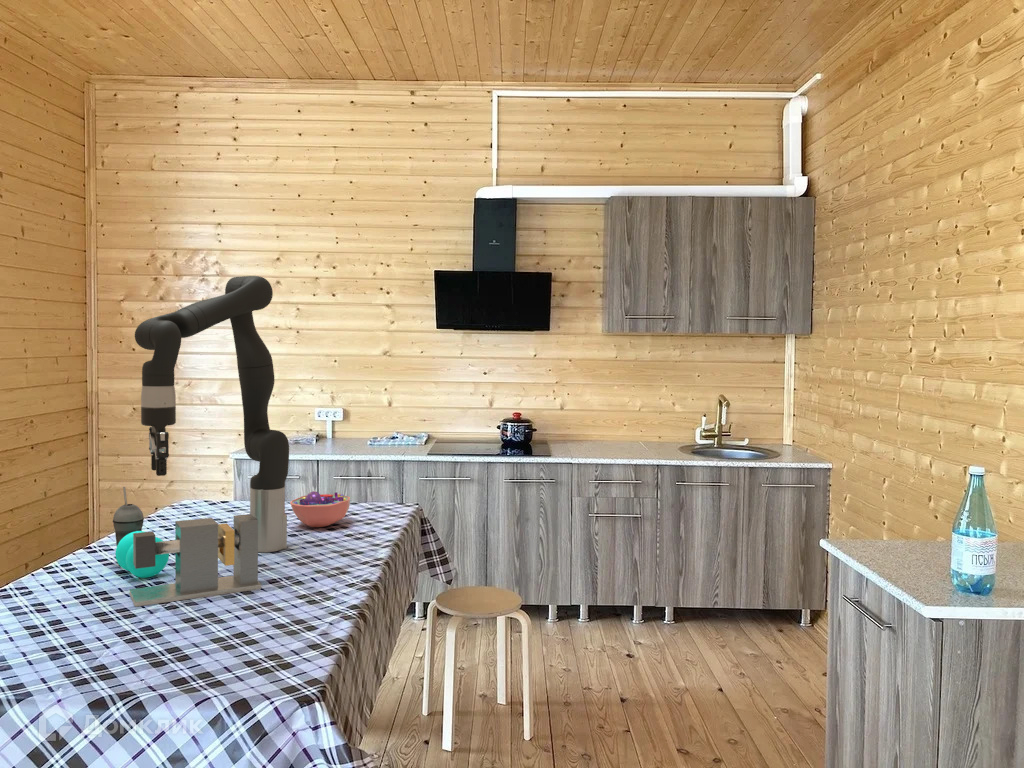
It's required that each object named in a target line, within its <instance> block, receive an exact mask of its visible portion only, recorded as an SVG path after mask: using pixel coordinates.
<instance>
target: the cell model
mask: <svg viewBox="0 0 1024 768" xmlns="http://www.w3.org/2000/svg"><path fill="white" fill-rule="evenodd" d="M350 501H351V497H350V496H347V495H344V494H343V493H338V492H334V494H329V493H326V494H325V493H324V494H320V493H319V492H318V491H316V490H313V491H310V492H309V493H308V494H307V495H302V496H300V497H297V498H295V499H292V500H291V501H290V503H289V504H290V506H291V510H292V511H293V514H294V515H295V516H296V517H297V519H298V520H299V521H300V522H301V523H302V524H304V525H306V526H307V527H310V528H324V527H327V526H331V525H333V524H335V523H337V522H339V521H341V520H342V519H344V518H345V516H346V515H347V513H348V511H349V509H350V504H351V502H350Z"/></svg>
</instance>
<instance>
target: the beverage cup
mask: <svg viewBox="0 0 1024 768" xmlns="http://www.w3.org/2000/svg"><path fill="white" fill-rule="evenodd" d="M126 489H127V488H126V486H123V487H122V490H123V499H124V504H122V505H121V506H119V507H118V508H117V509H116V511H115V512H114V514H113V516H112V523H113V530H114V533H115V543H116V546H117V545H118V543H119V542H120V540H121V539H122V538H123V537H124V536H126V535H127V534H129V533H132V532H135V531H143V525H144V521H145V518H144V513H143V511H142V509H141V508H140V507H139V506H138V505H136V504H133V503H128V499H127V491H126ZM118 566H119V567H120V568H122V567H121V566H120V565H119V564H118Z"/></svg>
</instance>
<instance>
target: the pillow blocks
mask: <svg viewBox="0 0 1024 768" xmlns="http://www.w3.org/2000/svg"><path fill="white" fill-rule="evenodd" d="M174 523H175V525H174V527H175V536H174V537H175V539H174V540H180V552H177V553H174V554H175V558H174V560H175V562H174V563H175V565H174V566H175V568H174V569H175V570H174V571H175V579H174V580H175V583H167V584H160V585H153V586H152V585H151V586H146V587H145V586H144V587H137V588H131V589H128V591H129V596H130V598H131V601H132V603H133V606H134V607H135V608H137V607H141V606H150V605H156V604H163V603H164V604H165V603H171V602H178V601H184V600H191V599H199V598H204V597H211V596H219V595H225V594H234V593H241V592H246V591H254V590H261V588H263V586H262V583H261V582H260V581H259V552H258V520H257V519H256V518H255V517H254V516H252V515H251V514H250V513H249V514H248V513H247V514H240V515H239V514H237V515H233V530H234V534H238V533H239V546H234V565H232V566H233V575H230V576H229V575H228V576H220V577H219V558H218V524H219V523H218V522H216V520H214V518H213V517H209V518H208V517H207V518H205V517H204V518H197V519H196V518H195V519H194V518H193V519H186V520H185V519H184V520H176V521H175V522H174Z"/></svg>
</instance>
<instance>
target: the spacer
mask: <svg viewBox="0 0 1024 768" xmlns="http://www.w3.org/2000/svg"><path fill="white" fill-rule="evenodd" d="M219 535H222V536H223V537H224V547H221V548H218V560H219V561H220V562H221V563H222V564H223V565H224V566H225V567H227V566H233V565H234V528H232V527H231V526H230V525H229V523H227V522H226V523H218V536H219Z"/></svg>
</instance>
